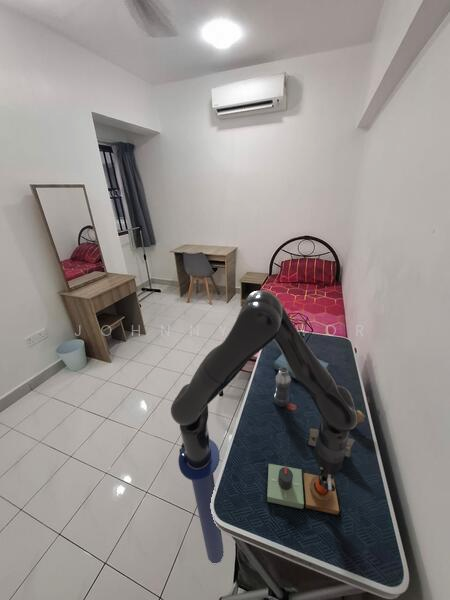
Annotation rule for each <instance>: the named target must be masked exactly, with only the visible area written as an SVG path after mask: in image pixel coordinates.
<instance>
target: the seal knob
mask: <svg viewBox="0 0 450 600" xmlns="http://www.w3.org/2000/svg"><path fill="white" fill-rule="evenodd" d="M287 467H288V466H285V467H283V468H281V469H280V470H279V478H278V483H279V485H280V487H281V488H282V489H284V490H289V489H290V488H291V487H292V481H293V473H292V471H291V470H290V469H289V468H287Z"/></svg>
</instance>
